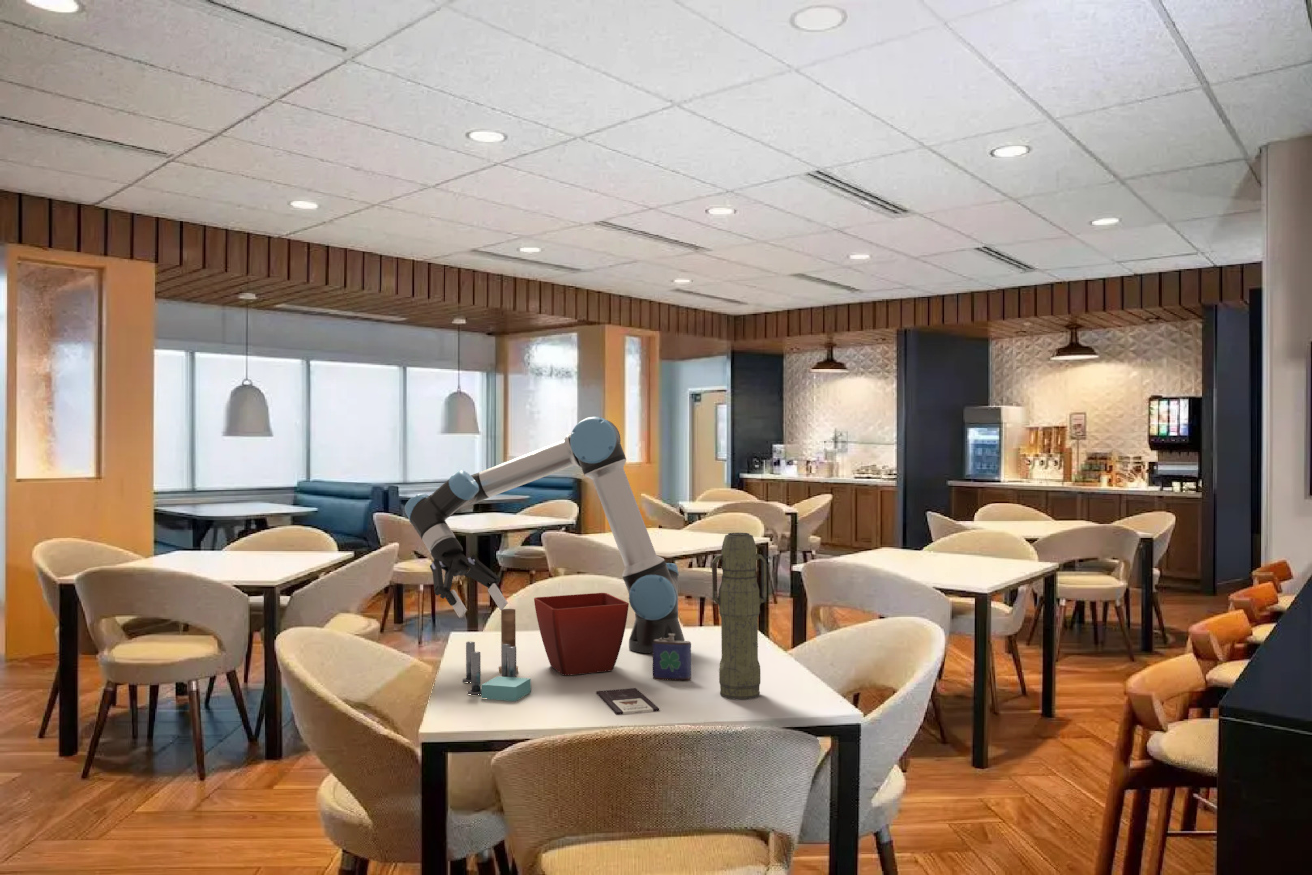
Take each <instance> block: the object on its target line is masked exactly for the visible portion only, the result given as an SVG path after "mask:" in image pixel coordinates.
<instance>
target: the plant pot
mask: <svg viewBox="0 0 1312 875" xmlns="http://www.w3.org/2000/svg"><path fill="white" fill-rule="evenodd" d="M533 600H534V606H535V607H534V608H535V615H536V620H537V625H538V628H539V632H540V633H539V634H540V636H541V639H542V643H543V647H544V651H545V653H546V657H547V660H548V663H549V664H550V666H551V667H552V668H553V669H554V670H556V672H558V673H560V675H562V676H566V677H567V676H575V675H577V676H578V675H584V674H595V673H596V674H597V673H604V672H605V673H606V672H612V671H613V670H614V669H615V665H616V663H617V661H618V659H619V658H618V657H619V654H620V650H621V647H622V644H623V640H624V636H625V632H626V627H627V626H626V625H627V622H628V621H627V619H628V614H629V605H630V602H628V601H625V600H622V599H620V598H618V597H616V596H615V595H611V594H609V593H607V592H594V593H593V592H592V593H580V594H565V595H551V596H539V597H534V598H533Z"/></svg>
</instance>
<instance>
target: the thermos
mask: <svg viewBox="0 0 1312 875" xmlns="http://www.w3.org/2000/svg"><path fill="white" fill-rule="evenodd" d="M719 560H721V570H722V575H721V582H720V586H719V589H718V562H719ZM759 560H760V561H761V563H760V564H761V595H760V587H759V584H758V581H757V579H758V578H757V576H758V575H757V574H756V570H757V561H759ZM767 567H768V566H767V560H766V558H765V557H764V555H762V554H759V553H757V544H756V542H755V539H754V535H752V534H750V532H749V533H748V532H729V533H728V534H725V535H724V538H723V541H722V544H721V553H720V554H719V555H716V556H715V557H714V558H713V559H712V561H711V583H712V584H711V588H712V589H711V590H712V591H711V599H712V600H713V601H714V602H715V603H716V604H717V605H718V613H719V616H720V617H721V618H720V620H721V626H720V627H721V628H720V630H721V658H720V661H719V665H718V666H719V667H718V668H719V669H718V672H719V675H718V677H719V678H718V680H719V681H718V683H719V685H720V686H719V687H720V688H719V689H720V690H719V695H720V696H721V697H722V698H725V699H729V700H736V701H743V700H744V701H745V700H748V701H749V700H755V699H756V698H757V699H758V698H759V697H760V695H761V692H760V685H761V664H760V662H759V661H760V660H759V654H758V653H759V649H758V647H759V646H758V645H759V643H758V642H759V640H758V639H759V638H758V636H759V635H758V629H759V628H758V626H759V625H758V618H759V616H760V612H761V611H760V610H761V609H760V606H761V604H763V603H767V597H768V596H767V595H768V594H767V593H768V590H767V589H768V581H767V579H768V574H767V573H768V572H767Z"/></svg>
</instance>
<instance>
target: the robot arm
mask: <svg viewBox="0 0 1312 875" xmlns="http://www.w3.org/2000/svg"><path fill="white" fill-rule="evenodd" d="M626 462H627V457H626V454H625V452H624V450H623V447H622V444H621V434H620V430H619V429H618V427H617V426H616V425H615V424H614V423H613V422H611V421H609V420H608V419H606V418H603V417H602V416H589V417H585V418H584V419H581V420H580V421H579V422H577V424H576V425H575V426H574V427H573V429H572V431H571V433H567V434H566V436H565V438H564V439H562V440H560V441H559V440H558V441H557V442H554V443H552V444H549V445H546V446H544V447H542V448H539V449H536V450H534V451H530V452H529V453H526V454H523V455H521V456H518V457H515V458H513V459H511V460H508V461H505V462H502V463H500V464H497V465H495V466H493V467H488V468H487V469H484V470H482V471H479V472H476V473H474V474H470V473H469V472H467V471H465V470H464V469H463V470H462V469H461V470H459V471H458V472H456V473H455V474H454V475H451V476H450V477H449V479H448V480H445V482H444V483H442V485H440V486H439V487H438V488H437V489H436V490H435V491H433V493H431V494H427V493H418V494H416V496H412V497H410V499H408V501H406V503H405V505H404V512H405V514H406V516H407V518H408V520H409V522H410V524H411V525H412V527H413V528H414V530H415V531H416V533H417V534H418V536H419V537H420V539H421V540H422V542H423V543H424V545H425V547H426V549H427V551H428V552H429V553H430V555H431V557H432V558H433V561H432V562H431V564H430V565H429V568H430V570H431V572H432V579H433V582H432V583H433V590H434V595H435V596H439V597H440V598H441V599H445V600H446V601H447V603H448V604H449V606H452V608H453V610H454V612H455V613H456V615H457V616H458V617H459V618H463V617H464V615H465V614H466V612H467V611H468V609H467V608H466V606H465V604H464V602H463V601H462V599H461V598H460V596H459V595H458V593H457V591H456V590H455V589H452V585H453V580H454V577H458V576H462V577H463V576H465V577H466V578H471V579H473V580H474V581H476V582H478V583H479V584H481V585H482V586H484V587H486V588H488V589H487V592H488V593H489V595H490V596H491V598H492V600H493V601H494V603H495V605H496V606H497V607H498V608H499V610H500V611H501V610H502V609H505V608H506V606H507V605H508V604H509V603H508V601H507V599H506V597H505V596H504V595H503V591H502V590H501V589H500V587H499V586H498V584H499V583H500V582H501V580H502V579H501V577H500V576H498V575H497V574H496V573H495V572H493V571H492V570H491V569H490V568H489V567H487V566H486V565H485V564H484V563H483V562H482V561H480V560H479V559H478V557H477V556H476V555H475V554H472V555H471V556H470V557H466V556H465V555H464V549H463V546H462V545H461V543H460V542H459V540H458V538H456V535H455V534H454V532H453V530H452V529H451V528H450V526H449V524H448V523H447V521H446V520H447V519H448V518H450V517H451V516H452V515H453V514H454V513H455V512H457V511H458V510H460V508H462V507H467V506H474V505H476V504H478V503H480V502H481V501H484V500H487V499H489V498H492V497H494V496H497V495H500V494H502V493H504V492H507V491H510V490H512V489H516V488H518V487H520V486H521V487H522V486H523V485H526V484H530V483H531V482H534V481H537V480H539V479H543V478H544V477H548V476H550V475H553V474H555V473H558V472H561V471H563V470H566V469H568V468H572V467H574V466H575V467H578V468H581V470H582V473H583V475H584V477H586V478H588V479H590V480H592V483H593V485H594V488H595V491H596V493H597V496H598V498H599V501H600V503H601V507H602V509H603V512H604V515H605V517H606V519H607V522H608V525H609V528H610V530H611V533H612V536H613V539H614V541H615V544H616V546H617V549H618V551H619V554H620V557H621V559H622V562H623V565H624V569H623V572H622V574H621V576H622V579H623V582H624V585H625V587H626V590H627V593H628V600H629V602H628V603H629V605H630V607H631V609H632V610H633V611H634V616H635V617H634V619H635V620H634V623H633V626H632V629H631V632H630V636H629V639H628V649H629V650H631V651H633V652H636V653H643V654H653V641H654V640H656V639H660V638H662V639H663V638H668V637H669V635H668V634H670V633H671V634H672V633H673V634H675V636H674V641H686V640H685V636H684V634H683V631H682V627H681V624H680V621H679V571H678V570H679V568H678V566H677V564H676V563H672V562H671V563H670V562H666V559H664V557H661V556H659V555H657V553H656V550H655V548H654V545H653V542H652V539H651V537H650V534H649V532H648V529H647V527H646V523H645V522H644V519H643V516H642V514H641V511H640V508H639V505H638V504H637V501H636V498H635V495H634V493H633V492H634V491H633V490H632V487H631V485H630V482H629V479H628V477H627V474H626V471H625V469H624V468H625V464H626ZM443 571H444V572H445V573H444V577H443ZM663 640H665V639H663Z"/></svg>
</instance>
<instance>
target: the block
mask: <svg viewBox="0 0 1312 875" xmlns="http://www.w3.org/2000/svg"><path fill="white" fill-rule="evenodd" d="M531 684H532V679H531V678H530V677H529V678H528V677H517V676H516V677H502V675H501V676H500V675H499V676H498V675H497V676H495V677H494V678H493V677H492V678H491V679H490V680H488V681H486V682H484V683H482V684H481V695H480V696H481V698H487V699H486V700H493V699H495V701H507V702H516V701H518V700H520V699H522V698H524V697H525V696H527V695H529V694H530V693H531V692H532V691H531V690H532V685H531Z"/></svg>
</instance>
